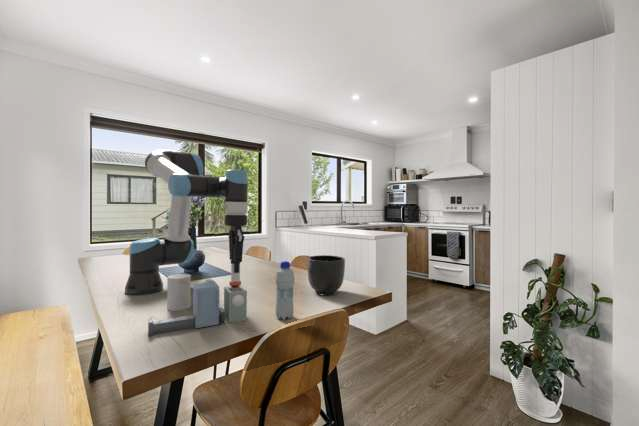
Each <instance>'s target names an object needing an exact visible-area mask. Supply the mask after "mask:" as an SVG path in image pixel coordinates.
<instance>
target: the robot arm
mask: <svg viewBox="0 0 639 426" xmlns="http://www.w3.org/2000/svg"><path fill="white" fill-rule="evenodd" d="M144 167H145V170H146V171H147V172H148V173H149V174H150V175H152V176H154V177H156V178H160V179H161V180H162V181H163V182H165V183H167V189H168V191H169V193H170V194H171V202H170V211H169V213H170V214H169V222H168V232H166V234H164V237H163V240H160V238H158V237H149V238H143V239H138V240H134V241H132V242H131V243H130V244H129V245H130V246H129V252H128V254H129V276H128V278H127V282H126V283H125V286H124V293H125V294H127V295H135V296H137V295H148V294H153V293H157V292H160V291H162V290H163V289H164V283H163V279H162V277H161V275H160V266H169V265H181V264H184V263H185V264H187V263H188V262H190V261H191V260H192V258H193V256H194V253H195V244H194V240H193V239H191V236H190V235H189V234H188V233H189V224H190V216H191V207H192V206H191V205H192V199H193V197H194V198H197V197H198V198H215V199H225V201H224V202H225V204H223V208H224V212H225V216H224V224H225V226H229V227H230V230H229V231H228V234H227V235H228V245H229V247H228V248H229V250H228V251H229V260H230V281H231V282H239V281H241V263H242V262H243V251H244V240H245V235H244V231H243V229H242V227H245V226H247V225H248V216H247V215H246V214H248V192H249V191H248V190H249V189H248V187H249V184H248V183H249V181H248V172H247V171H246V170H243V169H227V170H226V171H225V175H224V176H223V177H222V176H221V177H220V176H207V175H204V163H203V160H202V158H201V157H200V155H199V154H197V153H193V152H190V151H189V152H187V151H181V150H172V149H162V148H161V149H157V150H153V151H151V152H150V153H148V155H147V156H146V157H145V159H144Z"/></svg>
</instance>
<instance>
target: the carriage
mask: <svg viewBox="0 0 639 426" xmlns="http://www.w3.org/2000/svg"><path fill="white" fill-rule="evenodd" d="M200 283H201V282H200ZM200 283H193V286H192V305H193V307H192V308H193V314H192V315H195V327H194V328H195V329H198V328H205V327H212V326H217V325H219V324H220V323H219V308H220V286H219V284H217V282H216V281H215V282H211V283H201V284H200Z"/></svg>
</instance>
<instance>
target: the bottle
mask: <svg viewBox="0 0 639 426" xmlns="http://www.w3.org/2000/svg"><path fill="white" fill-rule="evenodd" d="M279 266H280V268H279V269H277V270H276V276H275V285H276V293H275V294H276V297H275V299H276V302H275V316H276V318H277V319H278V320H283V321H284V320H285V321H286V318H287V320H290V319H291V318H292V317H293V316H294V285H295V273H294V272H295V271H294V270H293V269H291V262H289V261H287V260H286V261H285V260H283V261H281V262H280V265H279Z"/></svg>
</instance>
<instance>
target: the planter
mask: <svg viewBox="0 0 639 426" xmlns="http://www.w3.org/2000/svg"><path fill="white" fill-rule="evenodd" d="M345 269H346V258H345V257H343V256H338V255H327V254H326V255H324V254H321V255H313V256H312V255H311V256H309V257H307V278H308V282H309V285H310V287H311V289H313V290H314V292H315V293H316V294H317V293H318V294H317V295H319V294H323V295H322V296H330V295H329V294H333V295H335V294H336V293H337V291H338V290H339V289H340V288H341V287H342V286H343V282H344V278H345V271H346V270H345ZM334 293H335V294H334Z"/></svg>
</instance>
